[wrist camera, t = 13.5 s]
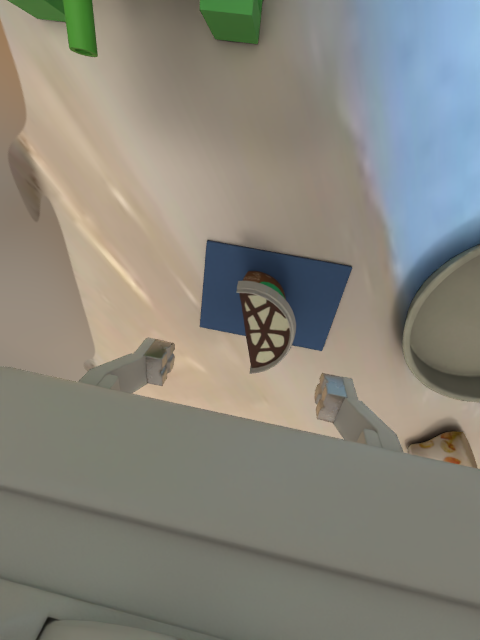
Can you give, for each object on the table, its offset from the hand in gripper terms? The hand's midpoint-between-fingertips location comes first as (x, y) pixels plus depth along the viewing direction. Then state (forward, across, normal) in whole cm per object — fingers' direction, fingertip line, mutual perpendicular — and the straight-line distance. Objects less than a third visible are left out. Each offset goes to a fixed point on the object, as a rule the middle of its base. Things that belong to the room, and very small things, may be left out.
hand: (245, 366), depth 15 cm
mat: (+26, -1, +8) cm, 27 cm away
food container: (+25, -2, +8) cm, 27 cm away
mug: (+26, -36, +30) cm, 54 cm away
